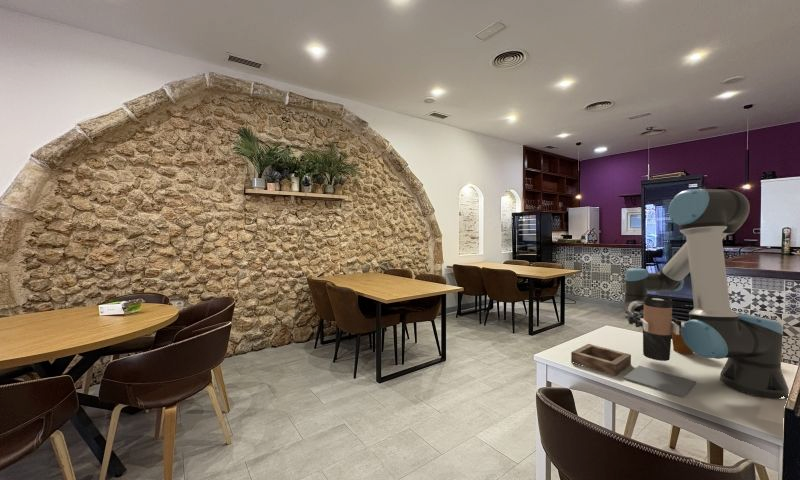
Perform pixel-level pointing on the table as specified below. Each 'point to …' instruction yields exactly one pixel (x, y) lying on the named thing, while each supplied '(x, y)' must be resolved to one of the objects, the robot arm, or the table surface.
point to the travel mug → (657, 328)
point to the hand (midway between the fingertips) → (662, 328)
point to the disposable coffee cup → (680, 342)
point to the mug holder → (601, 359)
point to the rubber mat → (660, 381)
